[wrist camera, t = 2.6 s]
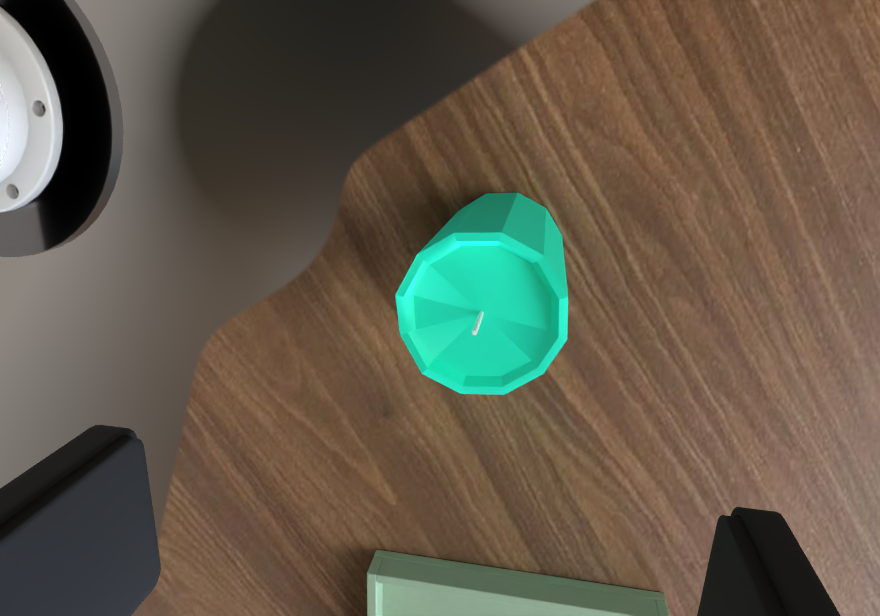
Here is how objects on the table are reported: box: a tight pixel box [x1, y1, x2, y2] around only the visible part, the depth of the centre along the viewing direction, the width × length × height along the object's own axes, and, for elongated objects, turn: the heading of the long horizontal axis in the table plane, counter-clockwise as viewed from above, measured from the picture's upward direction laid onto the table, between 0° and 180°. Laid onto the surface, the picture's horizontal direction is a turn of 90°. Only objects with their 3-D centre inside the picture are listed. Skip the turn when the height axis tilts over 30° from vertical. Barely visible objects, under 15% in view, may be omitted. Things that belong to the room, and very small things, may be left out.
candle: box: [396, 193, 568, 395], centre depth 24 cm, size 6×6×12 cm
